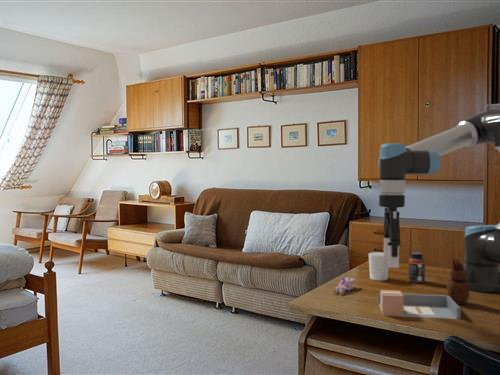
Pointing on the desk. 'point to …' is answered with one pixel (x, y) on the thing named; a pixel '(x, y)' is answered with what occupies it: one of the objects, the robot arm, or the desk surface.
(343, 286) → the rabbit figure
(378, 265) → the white cup
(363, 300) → the desk surface
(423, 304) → the tray
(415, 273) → the supplement bottle
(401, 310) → the cube
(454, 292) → the wooden figurine
